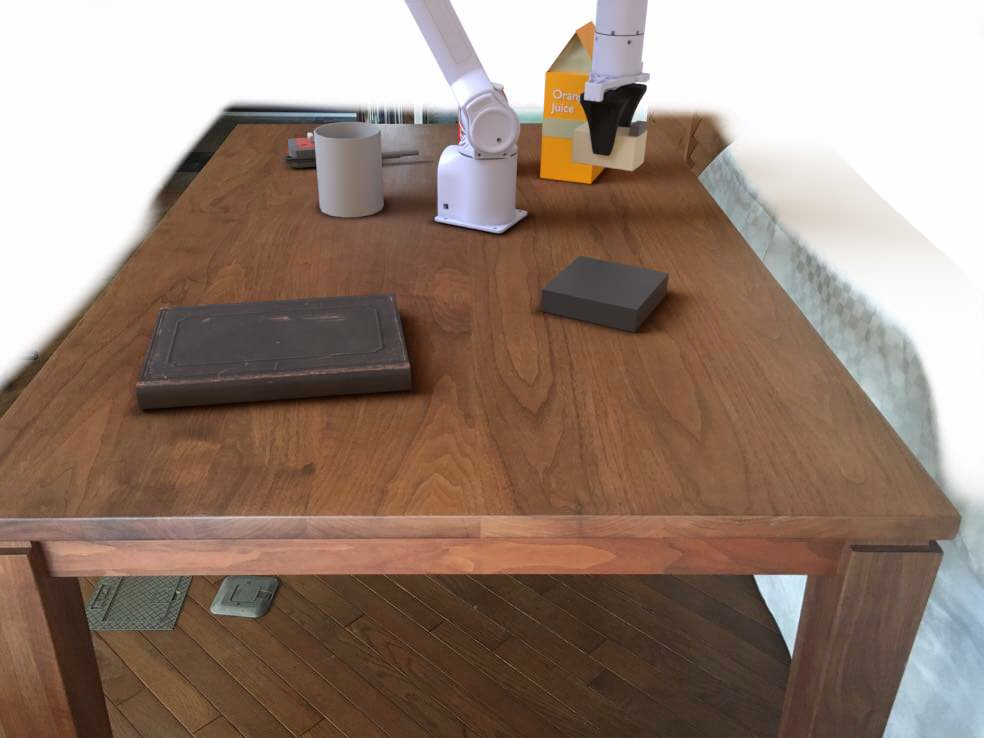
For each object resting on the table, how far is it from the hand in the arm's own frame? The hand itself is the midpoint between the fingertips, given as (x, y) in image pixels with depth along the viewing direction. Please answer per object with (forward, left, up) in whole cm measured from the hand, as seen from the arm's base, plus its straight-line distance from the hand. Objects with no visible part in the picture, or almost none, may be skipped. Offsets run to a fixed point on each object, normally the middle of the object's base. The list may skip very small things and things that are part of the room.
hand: (608, 149), depth 111 cm
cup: (-30, -12, -9) cm, 34 cm away
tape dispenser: (0, 0, -2) cm, 2 cm away
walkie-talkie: (-42, +5, -9) cm, 44 cm away
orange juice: (-10, +16, -9) cm, 21 cm away
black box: (+10, -24, -9) cm, 28 cm away
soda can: (-22, +10, -9) cm, 26 cm away
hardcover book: (-12, -50, -9) cm, 53 cm away
